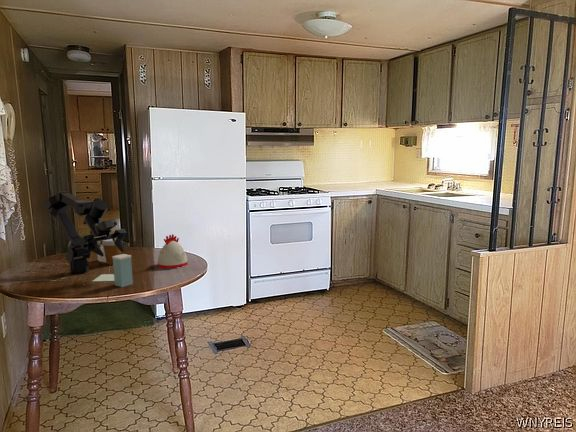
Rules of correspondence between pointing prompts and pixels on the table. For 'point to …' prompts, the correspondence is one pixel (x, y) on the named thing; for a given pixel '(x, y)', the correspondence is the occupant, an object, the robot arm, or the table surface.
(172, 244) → the kitchen timer
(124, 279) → the tea tin
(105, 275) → the plate
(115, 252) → the disposable coffee cup
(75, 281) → the table surface
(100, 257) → the medicine bottle
